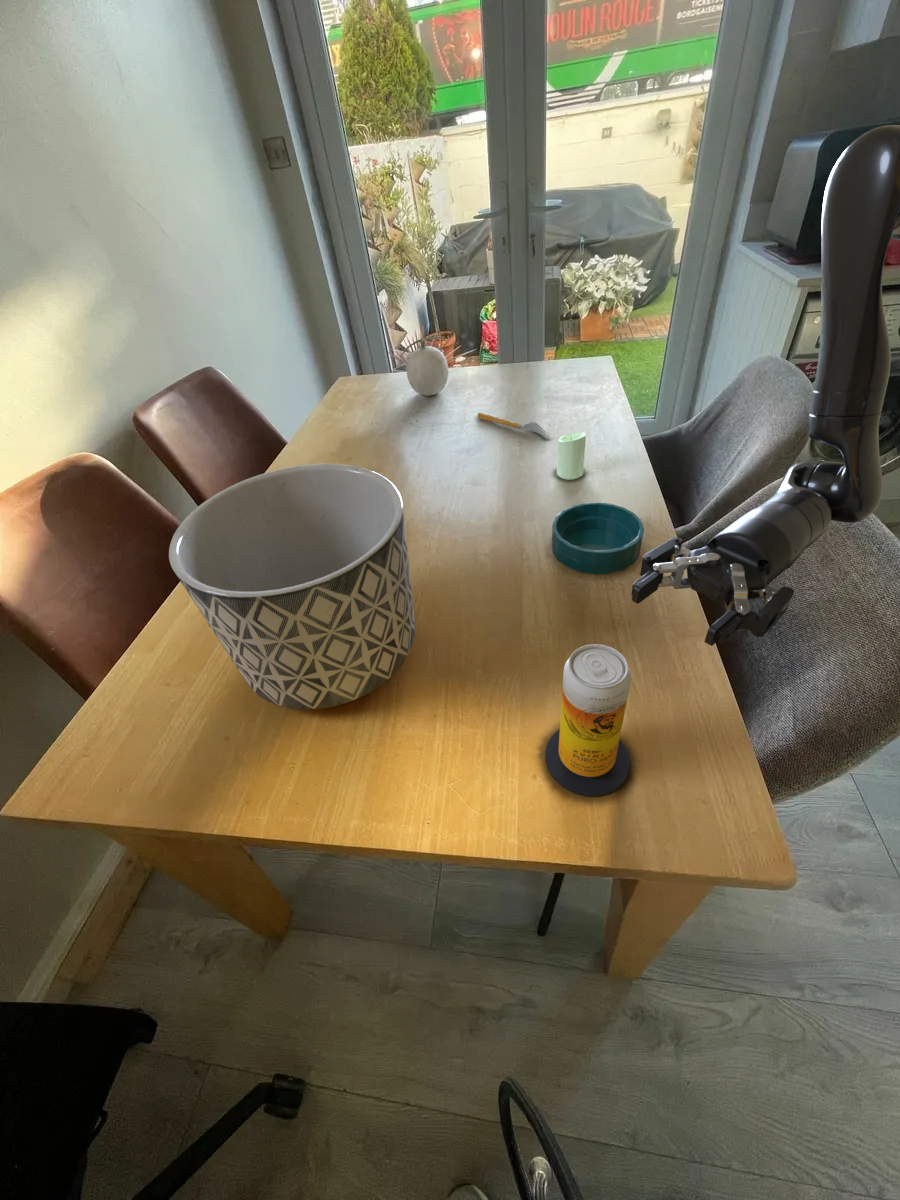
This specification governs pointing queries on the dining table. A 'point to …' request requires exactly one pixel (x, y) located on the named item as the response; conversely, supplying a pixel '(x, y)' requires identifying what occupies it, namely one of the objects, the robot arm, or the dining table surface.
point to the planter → (303, 581)
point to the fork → (513, 423)
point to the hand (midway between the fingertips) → (670, 616)
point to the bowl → (597, 538)
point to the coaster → (582, 783)
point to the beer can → (593, 709)
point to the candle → (571, 456)
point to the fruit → (427, 369)
